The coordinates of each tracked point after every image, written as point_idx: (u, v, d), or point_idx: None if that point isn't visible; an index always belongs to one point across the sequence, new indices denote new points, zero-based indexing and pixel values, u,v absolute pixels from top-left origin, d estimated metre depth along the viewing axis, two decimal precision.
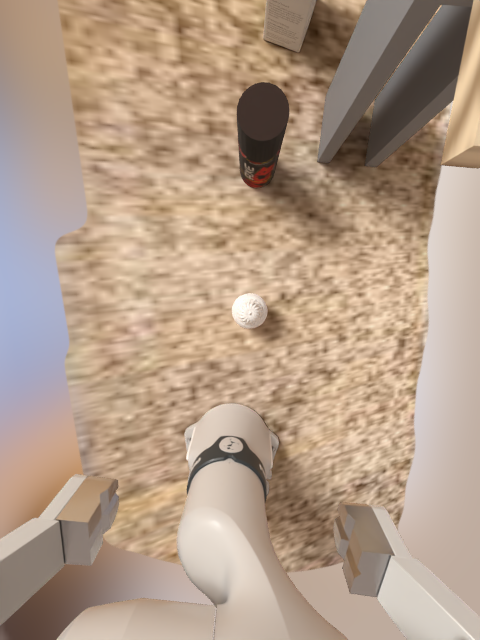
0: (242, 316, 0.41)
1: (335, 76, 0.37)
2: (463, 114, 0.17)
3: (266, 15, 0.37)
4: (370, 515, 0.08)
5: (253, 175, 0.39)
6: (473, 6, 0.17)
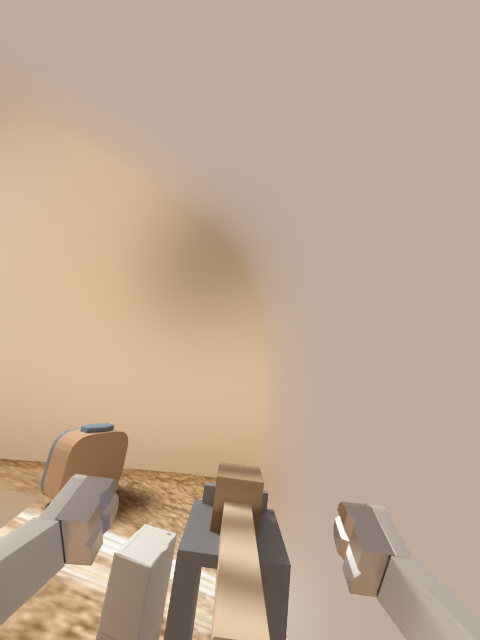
0: None
1: None
2: None
3: None
4: (370, 515, 0.08)
5: None
6: None
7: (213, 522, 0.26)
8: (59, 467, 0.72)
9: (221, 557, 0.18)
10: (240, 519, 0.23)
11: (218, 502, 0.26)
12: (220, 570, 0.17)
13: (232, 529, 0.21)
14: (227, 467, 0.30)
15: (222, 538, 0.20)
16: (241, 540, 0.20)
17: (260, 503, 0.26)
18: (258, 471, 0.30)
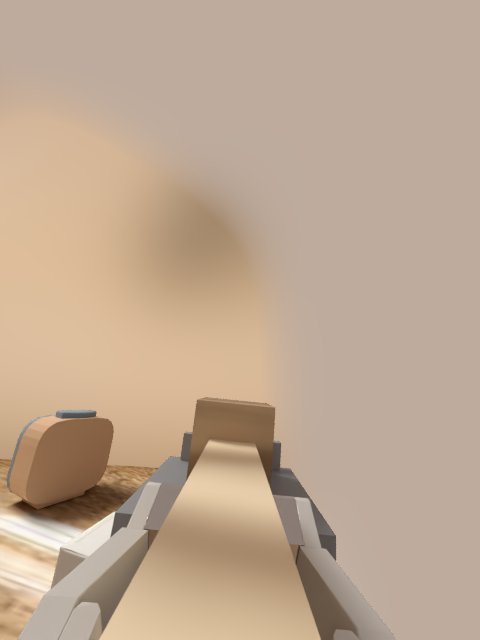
0: None
1: None
2: None
3: None
4: (291, 507, 0.08)
5: None
6: None
7: (190, 473, 0.15)
8: (27, 457, 0.60)
9: (181, 497, 0.07)
10: (235, 454, 0.13)
11: (199, 441, 0.16)
12: (170, 520, 0.06)
13: (217, 463, 0.11)
14: (217, 399, 0.19)
15: (193, 472, 0.09)
16: (233, 475, 0.09)
17: (270, 441, 0.16)
18: (265, 404, 0.19)
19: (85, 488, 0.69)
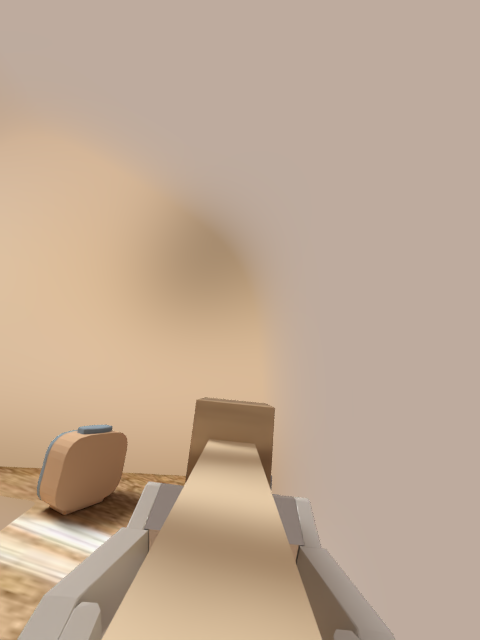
0: None
1: None
2: None
3: None
4: (291, 507, 0.08)
5: None
6: None
7: (190, 474, 0.15)
8: (55, 470, 0.69)
9: (181, 497, 0.07)
10: (235, 454, 0.13)
11: (199, 441, 0.16)
12: (170, 520, 0.06)
13: (217, 463, 0.11)
14: (217, 399, 0.19)
15: (193, 472, 0.09)
16: (233, 475, 0.09)
17: (270, 441, 0.16)
18: (264, 404, 0.19)
19: (104, 495, 0.78)
